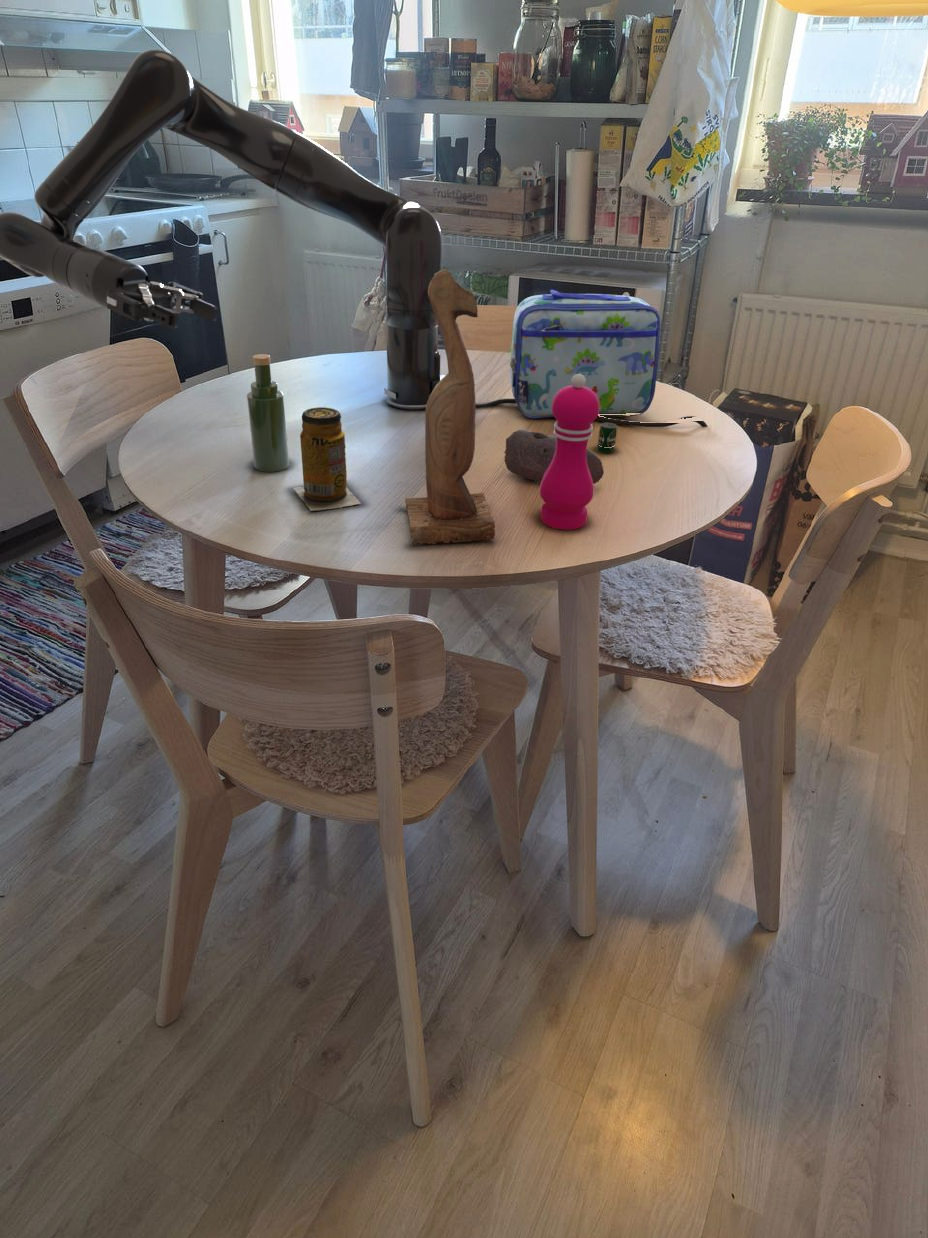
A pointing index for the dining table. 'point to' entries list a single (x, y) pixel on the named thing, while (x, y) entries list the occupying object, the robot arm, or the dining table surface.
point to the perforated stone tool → (539, 455)
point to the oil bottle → (267, 419)
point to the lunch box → (584, 351)
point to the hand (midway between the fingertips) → (196, 317)
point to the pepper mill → (570, 458)
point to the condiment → (324, 461)
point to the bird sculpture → (450, 433)
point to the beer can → (607, 437)
